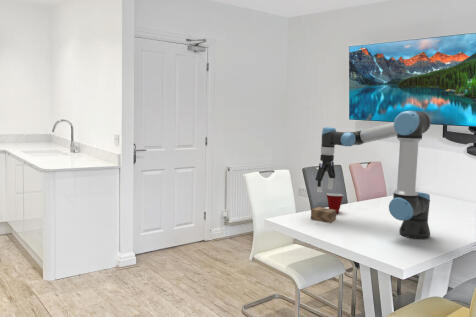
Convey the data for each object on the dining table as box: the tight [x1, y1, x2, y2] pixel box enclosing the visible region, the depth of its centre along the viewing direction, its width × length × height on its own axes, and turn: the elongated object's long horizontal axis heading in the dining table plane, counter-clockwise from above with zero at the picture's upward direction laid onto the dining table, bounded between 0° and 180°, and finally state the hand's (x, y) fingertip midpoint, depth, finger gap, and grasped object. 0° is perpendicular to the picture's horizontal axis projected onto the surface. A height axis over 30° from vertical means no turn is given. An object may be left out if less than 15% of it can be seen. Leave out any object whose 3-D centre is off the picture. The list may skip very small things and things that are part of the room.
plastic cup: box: [326, 192, 344, 215], centre depth 276 cm, size 11×11×12 cm
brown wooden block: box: [310, 206, 337, 224], centre depth 259 cm, size 12×9×6 cm
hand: (324, 190), depth 258 cm, fingers open, 13 cm apart
